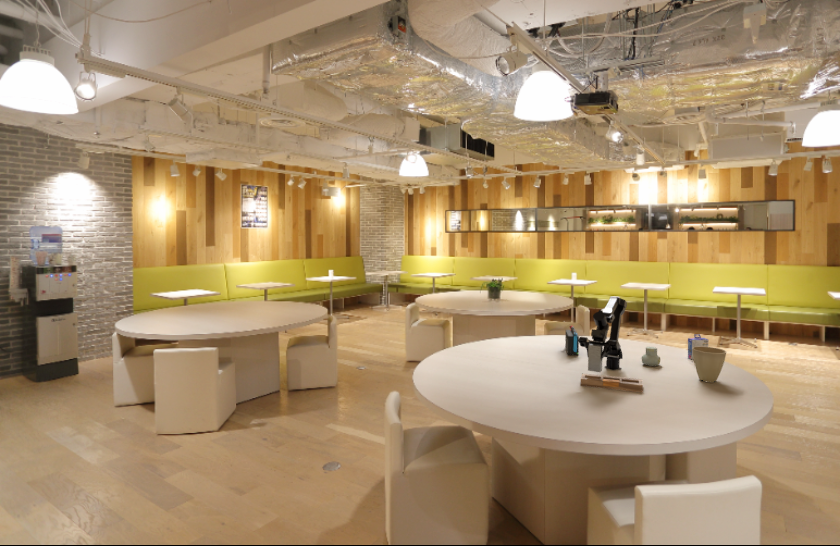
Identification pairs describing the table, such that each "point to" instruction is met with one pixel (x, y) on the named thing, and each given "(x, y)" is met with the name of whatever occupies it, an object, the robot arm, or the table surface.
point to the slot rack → (612, 382)
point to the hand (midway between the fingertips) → (594, 357)
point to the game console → (572, 341)
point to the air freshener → (651, 357)
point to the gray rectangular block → (595, 357)
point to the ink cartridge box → (696, 344)
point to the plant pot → (708, 362)
